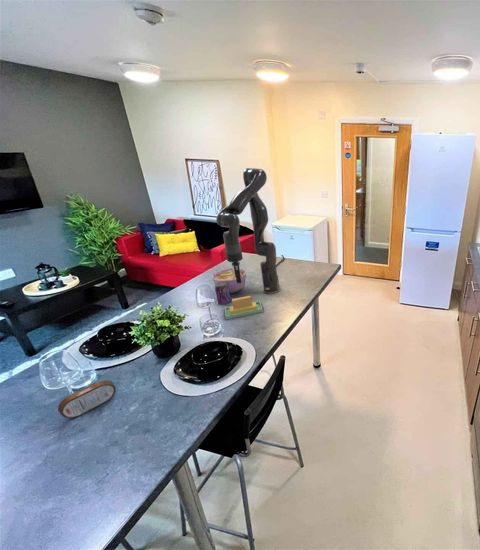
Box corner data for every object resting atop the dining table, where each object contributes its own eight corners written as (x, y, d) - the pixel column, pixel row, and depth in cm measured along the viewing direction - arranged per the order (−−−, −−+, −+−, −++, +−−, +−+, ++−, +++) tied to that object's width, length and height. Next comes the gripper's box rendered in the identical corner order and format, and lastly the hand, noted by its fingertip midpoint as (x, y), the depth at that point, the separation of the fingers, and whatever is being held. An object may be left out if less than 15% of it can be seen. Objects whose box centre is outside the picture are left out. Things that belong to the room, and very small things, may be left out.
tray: (225, 310, 165) (224, 307, 164) (260, 303, 173) (260, 300, 172) (226, 319, 156) (225, 316, 156) (263, 311, 164) (262, 308, 163)
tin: (117, 391, 110) (109, 375, 107) (120, 395, 108) (112, 378, 105) (63, 419, 99) (52, 401, 95) (66, 424, 97) (55, 406, 94)
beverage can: (225, 305, 170) (222, 287, 165) (215, 304, 171) (211, 286, 166) (233, 299, 176) (229, 282, 171) (222, 298, 177) (219, 280, 172)
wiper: (230, 311, 163) (227, 298, 160) (256, 305, 169) (254, 293, 166) (230, 315, 159) (228, 302, 156) (257, 310, 165) (255, 297, 162)
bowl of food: (207, 293, 182) (204, 277, 177) (232, 281, 199) (229, 265, 194) (232, 300, 175) (228, 283, 171) (255, 286, 192) (252, 271, 187)
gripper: (242, 254, 145) (247, 283, 152) (240, 246, 157) (244, 273, 163) (226, 256, 142) (231, 286, 149) (225, 248, 154) (230, 275, 160)
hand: (238, 279), depth 156 cm, fingers open, 8 cm apart
